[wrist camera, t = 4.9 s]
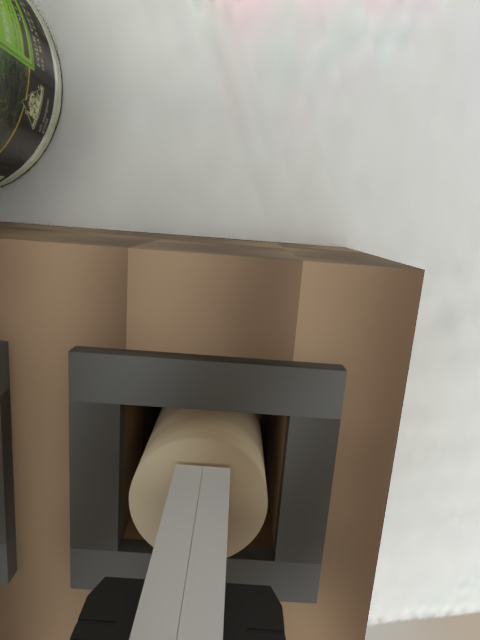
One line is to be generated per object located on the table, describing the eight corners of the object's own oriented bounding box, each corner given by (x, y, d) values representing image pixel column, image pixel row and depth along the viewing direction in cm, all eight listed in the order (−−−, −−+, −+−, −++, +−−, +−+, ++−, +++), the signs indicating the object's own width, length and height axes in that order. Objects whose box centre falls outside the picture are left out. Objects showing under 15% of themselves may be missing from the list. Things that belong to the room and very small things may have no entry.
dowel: (171, 424, 22) (127, 558, 14) (175, 345, 21) (130, 434, 13) (253, 429, 22) (261, 566, 14) (259, 351, 21) (273, 444, 13)
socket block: (-76, 469, 26) (-291, 642, 15) (-98, 214, 22) (-385, 211, 12) (315, 495, 26) (364, 680, 16) (345, 247, 23) (433, 272, 12)
